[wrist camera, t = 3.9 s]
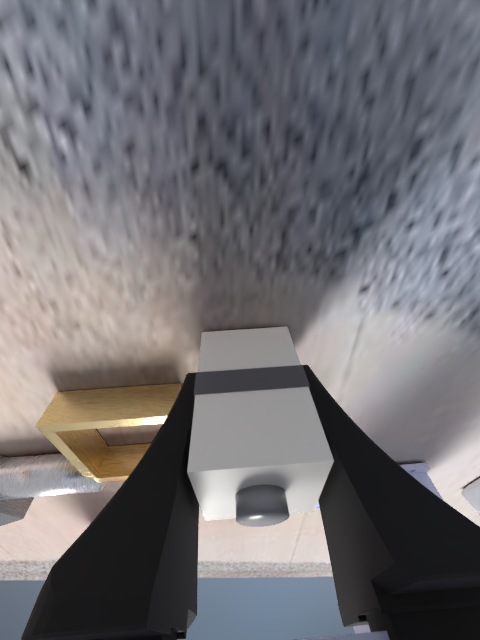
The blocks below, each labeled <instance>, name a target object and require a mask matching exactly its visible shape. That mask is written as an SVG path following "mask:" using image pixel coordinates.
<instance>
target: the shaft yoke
mask: <svg viewBox="0 0 480 640" xmlns="http://www.w3.org/2000/svg"><path fill="white" fill-rule="evenodd" d="M180 390H181V383H174V384H160V385H146V386H132V387H118V388H104V389H91V390H77V391H63V392H57V394H56V395H55V397H54V398H53V400H52V401H51V403H50V405H49V406H48V408H47V409H46V411H45V412H44V414H43V415H42V417H41V418H40V420H39V422H38V423H37V425H36V427H37V428H38V429H39V430H40V431H41V432H42V433H43V434H44V435H45V436H46V437H47V438H48V439H49V441H50V442H51V443H52V444H53V445H54V446H55V447H56V448H57V449H58V450H59V451H60V452H61V454H49V455H36V456H23V457H10V458H7V457H4V456H2V455H0V526H2V525H5V524H8V523H11V522H15V521H18V520H21V519H23V518H24V516H25V514H26V512H27V510H28V508H29V506H30V504H31V502H32V501H33V499H34V497H41V496H53V495H65V494H77V493H89V492H100V491H101V490H103V488H104V487H105V486H106V484H107V482H112V481H124V480H126V479H127V478H128V477H129V475H130V474H131V473H132V471H133V470H134V468H135V467H136V466H137V464H138V463H139V461H140V460H141V458H142V457H143V455H144V454H145V453H146V451H147V449H148V448H149V446H150V445H151V443H149V444H136V445H123V446H110V447H108V446H107V444H106V443H105V441H104V440H103V439H102V437H101V436H100V434H99V433H98V431H97V430H96V429H97V428H110V427H123V426H137V425H150V424H163V423H164V421H165V420H166V418H167V416H168V414H169V412H170V410H171V408H172V406H173V404H174V402H175V400H176V398H177V396H178V394H179V392H180Z"/></svg>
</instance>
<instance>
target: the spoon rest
mask: <svg viewBox="0 0 480 640" xmlns="http://www.w3.org/2000/svg"><path fill="white" fill-rule="evenodd" d="M462 495H463V497H464V498H465V499H466V500H467V502H468V503H469V504H470V505H471V506H472V507H473V509H474V510H475V511H476V512H477V513H478V514H479V515H480V478H479V479H477V480H476V481H474V482H473V483H471V484H470V485H468V486H467V487H465V488H464V489H463V490H462Z"/></svg>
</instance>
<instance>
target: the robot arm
mask: <svg viewBox="0 0 480 640" xmlns="http://www.w3.org/2000/svg"><path fill="white" fill-rule="evenodd" d="M303 368H304V371H305V373H306V376H307V379H308V382H309V385H310V388H309V390H310V393H311V396H312V399H313V402H314V405H315V407H316V410H317V413H318V416H319V419H320V422H321V425H322V428H323V430H324V433H325V436H326V439H327V442H328V445H329V448H330V451H331V453H332V456H333V459H334V462H333V464H332V467H331V469H330V472H329V474H328V477H327V480H326V482H325V485H324V487H323V490H322V492H321V495H320V497H319V500H318V502H317V505H316V507H315V509H319V508H320V511H321V516H322V520H323V525H324V530H325V535H326V540H327V545H328V550H329V555H330V561H331V566H332V572H333V577H334V582H335V588H336V594H337V600H338V606H339V610H340V614H341V618H342V622H343V625H344V627H349V626H353V627H354V631H355V634H347V635H336V636H326V637H315V638H305V639H294V640H480V527H479V526H477V525H476V524H475V523H473V522H472V521H470V520H469V519H468V518H466V517H465V516H464V515H462V514H461V513H459V512H458V511H457V510H455V509H454V508H452V507H451V506H450V505H448V504H447V503H446V502H444V501H443V499H442V497H441V496H440V494H439V492H438V491H437V489H436V488H435V486H434V484H433V483H432V481H431V479H430V478H429V476H428V474H427V473H426V472H427V471H428V470H429V469H430V468H429V466H428V465H427V464H426V463H416V464H404V465H399V464H397V463H396V462H395V461H394V460H393V459H391V458H390V457H389V456H388V455H387V454H386V453H385V452H384V451H383V450H382V449H381V448H379V447H378V446H377V445H376V444H375V443H374V442H373V441H372V440H371V439H370V438H369V437H368V436H367V435H366V434H365V433H364V432H363V431H362V430H361V429H360V428H359V427H358V426H357V425H356V424H355V423H354V422H353V420H352V419H351V418H350V417H349V416H348V415H347V414H346V413H345V412H344V411H343V409H342V408H341V407H340V406H339V405H338V404H337V402H336V401H335V400H334V399H333V398H332V396H331V395H330V394H329V393H328V391H327V390H326V389H325V388H324V386H323V385H322V384H321V382H320V381H319V380H318V378H317V377H316V376H315V374H314V373H313V371H312V370H311V369H310V367H309V366H308V365H303ZM195 378H196V373H188V374H187V375H186V377H185V380H184V383H183V385H182V387H181V390H180V392H179V394H178V396H177V398H176V400H175V402H174V404H173V406H172V408H171V410H170V412H169V414H168V416H167V418H166V420H165V421H164V423H163V425H162V426H161V428H160V430H159V432H158V433H157V435H156V437H155V438H154V440H153V442H152V443H151V445H150V446H149V448H148V449H147V451H146V453H145V454H144V455H143V457H142V458H141V460H140V461H139V463H138V464H137V466H136V467H135V468H134V470H133V471H132V473H131V474H130V475H129V477H128V478H127V479H126V481H125V482H124V483H123V485H122V486H121V487H120V489H119V490H118V491H117V493H116V494H115V495H114V496H113V498H112V499H111V500H110V501H109V502H108V504H107V505H106V506H105V507H104V508H103V510H102V511H101V512H100V513H99V515H98V516H97V517H96V518H95V519H94V521H93V522H92V523H91V524H90V525H89V526H88V528H87V529H86V530H85V531H84V532H83V533H82V534H81V535H80V537H79V538H78V539H77V540H76V541H75V542H74V543H73V544H72V545H71V547H70V548H69V549H68V550H67V551H66V552H65V553H64V554H63V555H62V556H61V558H60V559H59V560H58V561H57V562H56V563H55V564H54V565H53V567H52V569H51V571H50V573H49V575H48V577H47V579H46V581H45V583H44V585H43V587H42V589H41V591H40V594H39V596H38V598H37V601H36V603H35V605H34V608H33V610H32V613H31V616H30V618H29V620H28V623H27V625H26V628H25V630H24V633H23V635H22V638H21V639H22V640H177V639H185V638H186V632H187V629H188V628H189V627H190V625H191V623H192V622H193V621H194V619H195V617H196V616H197V563H198V521H199V503H198V500H197V497H196V495H195V492H194V489H193V487H192V484H191V481H190V479H189V476H188V473H187V469H188V459H189V450H190V440H191V431H192V421H193V412H194V402H195V398H194V386H195Z"/></svg>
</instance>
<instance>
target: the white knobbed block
mask: <svg viewBox="0 0 480 640" xmlns="http://www.w3.org/2000/svg"><path fill="white" fill-rule="evenodd" d="M309 388H310V385H309V382H308V379H307V376H306V373H305V371H304V368H303V365H301V364H300V361H299V358H298V356H297V353H296V350H295V347H294V344H293V341H292V338H291V335H290V333H289V330H288V327H272V328H257V329H242V330H227V331H212V332H202V336H201V345H200V355H199V364H198V372H196V378H195V386H194V398H195V402H194V412H193V421H192V431H191V440H190V450H189V459H188V469H187V473H188V476H189V479H190V481H191V484H192V487H193V489H194V492H195V495H196V497H197V500H198V503H199V505H200V508H201V511H202V514H203V516H204V519H205V521H207V520H219V519H231V518H236V522H237V523H239V524H240V525H244V526H249V527H263V526H270V525H275V524H278V523H281V522H283V521H285V520H287V519H288V518H289V514H290V513H302V512H314V510H315V507H316V505H317V502H318V500H319V497H320V495H321V492H322V490H323V487H324V485H325V482H326V480H327V477H328V474H329V472H330V469H331V467H332V464H333V462H334V459H333V456H332V453H331V451H330V448H329V445H328V442H327V439H326V436H325V433H324V430H323V428H322V425H321V422H320V419H319V416H318V413H317V410H316V407H315V405H314V402H313V399H312V396H311V393H310V390H309Z"/></svg>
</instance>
